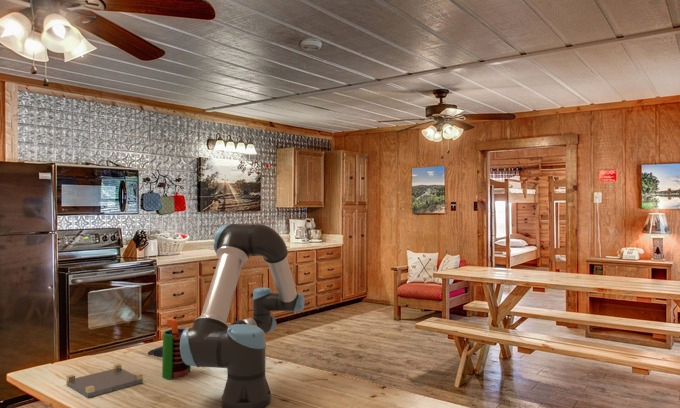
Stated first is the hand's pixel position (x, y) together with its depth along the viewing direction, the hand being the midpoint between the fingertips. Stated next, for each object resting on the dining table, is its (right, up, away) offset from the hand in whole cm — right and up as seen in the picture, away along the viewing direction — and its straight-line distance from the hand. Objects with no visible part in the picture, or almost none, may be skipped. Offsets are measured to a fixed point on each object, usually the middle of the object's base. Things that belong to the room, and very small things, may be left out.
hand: (198, 339), depth 184 cm
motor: (-6, -11, -7) cm, 15 cm away
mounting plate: (-27, -11, -17) cm, 34 cm away
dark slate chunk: (-17, -12, +24) cm, 32 cm away
